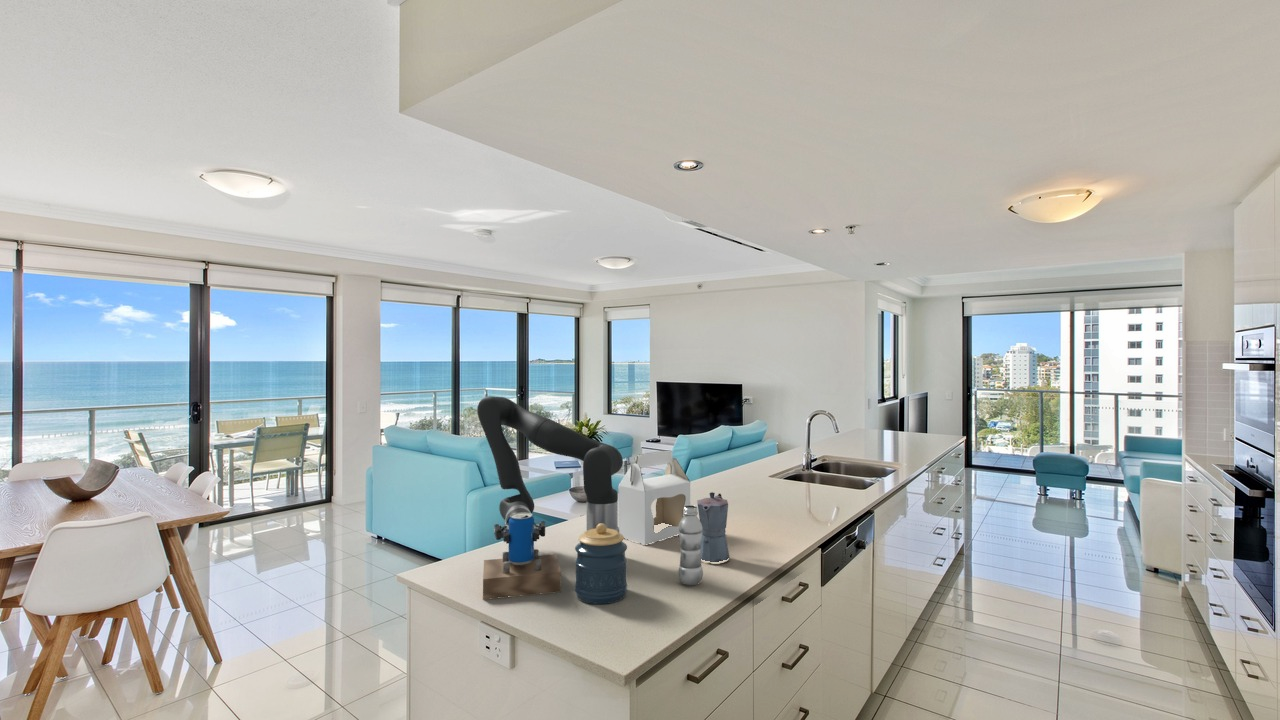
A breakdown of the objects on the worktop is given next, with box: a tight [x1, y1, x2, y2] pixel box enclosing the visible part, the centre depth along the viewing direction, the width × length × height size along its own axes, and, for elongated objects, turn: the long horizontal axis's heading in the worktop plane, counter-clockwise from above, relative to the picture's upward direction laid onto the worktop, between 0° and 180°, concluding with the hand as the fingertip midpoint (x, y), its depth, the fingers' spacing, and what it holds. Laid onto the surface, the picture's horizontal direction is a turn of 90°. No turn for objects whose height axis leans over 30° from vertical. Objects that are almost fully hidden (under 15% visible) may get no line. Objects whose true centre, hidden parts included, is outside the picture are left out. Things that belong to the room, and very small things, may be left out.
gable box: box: [617, 449, 691, 546], centre depth 190 cm, size 22×13×28 cm, turn 133°
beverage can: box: [508, 512, 535, 565], centre depth 146 cm, size 6×6×12 cm
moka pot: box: [696, 491, 730, 562], centre depth 166 cm, size 10×15×20 cm, turn 158°
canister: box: [574, 523, 628, 605], centre depth 140 cm, size 13×13×18 cm
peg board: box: [482, 548, 562, 600], centre depth 146 cm, size 19×14×8 cm
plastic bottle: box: [677, 504, 704, 586], centre depth 147 cm, size 6×7×20 cm
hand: (521, 538), depth 143 cm, fingers closed on beverage can, 6 cm apart
